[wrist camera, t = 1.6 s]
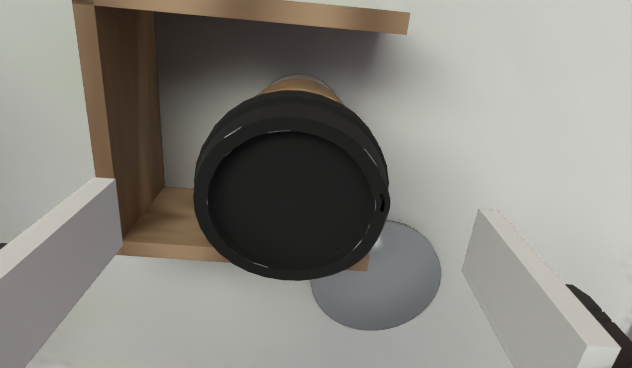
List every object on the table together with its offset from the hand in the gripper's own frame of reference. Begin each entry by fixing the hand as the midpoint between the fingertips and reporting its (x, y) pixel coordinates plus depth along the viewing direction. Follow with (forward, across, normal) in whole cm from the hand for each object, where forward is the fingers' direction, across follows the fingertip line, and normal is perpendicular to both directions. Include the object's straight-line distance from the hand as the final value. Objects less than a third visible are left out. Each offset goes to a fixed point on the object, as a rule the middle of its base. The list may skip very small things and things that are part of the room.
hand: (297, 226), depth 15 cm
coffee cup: (+16, 0, 0) cm, 16 cm away
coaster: (+16, +7, -14) cm, 22 cm away
